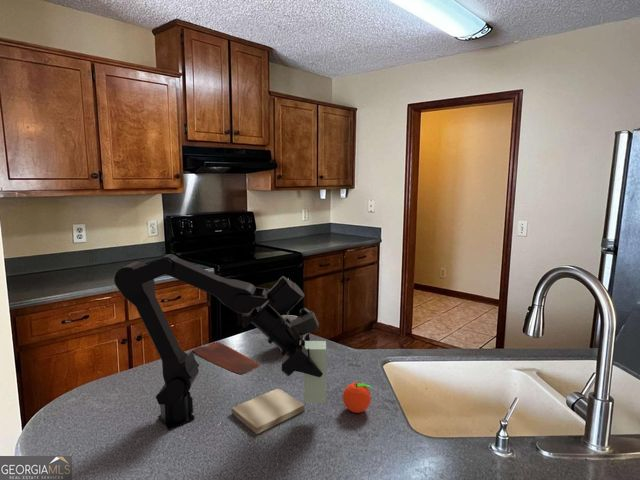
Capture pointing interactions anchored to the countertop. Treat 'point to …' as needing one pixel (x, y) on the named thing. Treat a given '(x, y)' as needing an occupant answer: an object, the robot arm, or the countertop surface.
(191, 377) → the robot arm
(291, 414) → the birch board
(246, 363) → the wooden tablet
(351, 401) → the clementine
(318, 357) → the green block
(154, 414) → the countertop surface
